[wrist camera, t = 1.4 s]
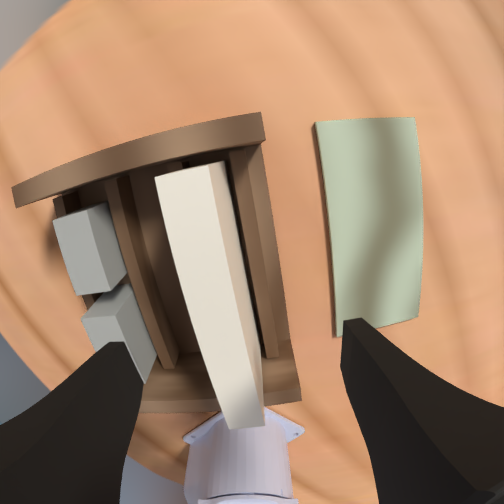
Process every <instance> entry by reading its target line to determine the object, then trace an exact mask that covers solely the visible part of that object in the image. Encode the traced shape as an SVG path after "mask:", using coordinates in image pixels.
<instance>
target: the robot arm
mask: <svg viewBox="0 0 504 504" xmlns="http://www.w3.org/2000/svg"><path fill="white" fill-rule="evenodd" d="M340 367H341V371H342V375H343V380H344V384H345V388H346V392H347V394H348V397H349V400H350V403H351V405H352V408H353V410H354V413H355V416H356V418H357V421H358V424H359V426H360V429H361V432H362V434H363V437H364V440H365V443H366V445H367V449H368V452H369V455H370V459H371V464H372V468H373V473H374V477H375V483H376V488H377V494H378V499H379V504H504V407H501V406H498V405H495V404H493V403H490V402H487V401H485V400H483V399H480V398H478V397H476V396H474V395H471V394H469V393H467V392H465V391H463V390H461V389H459V388H457V387H456V386H454V385H452V384H450V383H449V382H447V381H445V380H443V379H442V378H440V377H438V376H437V375H435V374H433V373H432V372H430V371H429V370H428V369H426V368H425V367H423V366H422V365H420V364H419V363H417V362H416V361H415V360H413V359H412V358H411V357H409V356H408V355H407V354H405V353H404V352H403V351H401V350H400V349H399V348H398V347H396V346H395V345H394V344H393V343H391V342H390V341H389V340H388V339H387V338H385V337H384V336H383V335H382V334H381V333H380V332H378V331H377V330H376V329H375V328H374V327H372V326H371V325H370V324H369V323H368V322H367V321H365V320H364V319H363V318H362V317H360V318H355V319H349V320H343V335H342V351H341V364H340ZM143 385H144V382H143V380H142V378H141V376H140V374H139V372H138V370H137V368H136V366H135V364H134V362H133V360H132V358H131V355H130V353H129V351H128V349H127V347H126V344H125V342H124V341H120V342H108V343H107V344H106V345H104V346H103V347H102V348H101V349H99V350H98V351H97V352H96V353H95V354H94V355H93V356H91V357H90V358H89V359H88V360H87V361H86V362H85V363H84V364H82V365H81V366H80V367H79V368H78V369H77V370H76V371H75V372H74V373H72V374H71V375H70V376H69V377H68V378H67V379H66V380H64V381H63V382H62V383H61V384H60V385H58V386H57V387H56V388H55V389H54V390H53V391H51V392H50V393H49V394H48V395H47V396H45V397H44V398H43V399H41V400H40V401H39V402H37V403H36V404H34V405H33V406H32V407H30V408H29V409H27V410H26V411H24V412H23V413H21V414H19V415H18V416H16V417H14V418H12V419H11V420H9V421H7V422H5V423H3V424H2V425H0V504H119V502H120V501H119V499H120V488H121V480H122V472H123V466H124V462H125V457H126V454H127V450H128V447H129V443H130V440H131V436H132V433H133V430H134V426H135V423H136V420H137V416H138V413H139V409H140V405H141V399H142V392H143ZM264 414H265V426H261V427H252V428H242V429H229V428H228V425H227V423H226V420H225V417H224V415H223V412H222V411H221V412H220V413H218V414H217V415H215V416H214V417H212V418H211V419H209V420H208V421H206V422H205V423H203V424H202V425H200V426H199V427H197V428H196V429H194V430H193V431H191V432H190V433H188V434H186V435H185V436H184V437H183V440H184V441H185V442H187V443H189V444H190V449H189V455H188V461H187V468H186V474H185V481H184V495H185V499H186V501H187V503H188V504H299V503H298V499H294V498H293V489H292V481H291V472H290V464H289V455H288V447H287V443H288V442H290V441H292V440H293V439H295V438H297V437H298V436H300V435H302V434H303V433H304V432H305V429H304V427H302V426H300V425H298V424H296V423H294V422H292V421H290V420H288V419H286V418H284V417H283V416H281V415H279V414H277V413H275V412H273V411H271V410H270V409H268V408H266V407H264Z"/></svg>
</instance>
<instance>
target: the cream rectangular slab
mask: <svg viewBox="0 0 504 504" xmlns="http://www.w3.org/2000/svg"><path fill="white" fill-rule="evenodd" d="M155 182H156V187H157V192H158V196H159V201H160V205H161V210H162V214H163V218H164V222H165V227H166V231H167V235H168V239H169V243H170V247H171V251H172V255H173V258H174V262H175V266H176V270H177V273H178V277H179V281H180V284H181V288H182V291H183V295H184V298H185V302H186V305H187V308H188V312H189V315H190V318H191V322H192V325H193V328H194V331H195V334H196V338H197V341H198V344H199V347H200V350H201V353H202V356H203V359H204V362H205V365H206V368H207V371H208V374H209V377H210V379H211V382H212V385H213V388H214V391H215V393H216V396H217V399H218V402H219V404H220V407H221V410H222V412H223V415H224V417H225V420H226V423H227V425H228V428H229V429H242V428H252V427H261V426H265V414H264V398H263V382H262V366H261V350H260V336H259V331H258V326H257V321H256V316H255V310H254V305H253V300H252V295H251V290H250V284H249V279H248V274H247V269H246V264H245V258H244V253H243V248H242V242H241V237H240V232H239V226H238V221H237V216H236V210H235V205H234V200H233V194H232V189H231V183H230V178H229V173H228V167H227V162H226V160H224V161H219V162H214V163H209V164H204V165H199V166H194V167H190V168H187V169H183V170H179V171H175V172H171V173H168V174H164V175H161V176H157V177H155Z"/></svg>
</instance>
